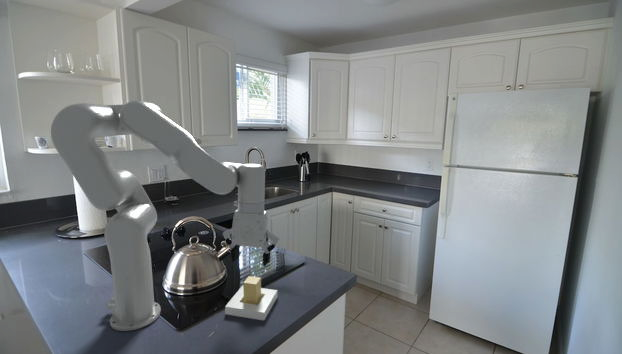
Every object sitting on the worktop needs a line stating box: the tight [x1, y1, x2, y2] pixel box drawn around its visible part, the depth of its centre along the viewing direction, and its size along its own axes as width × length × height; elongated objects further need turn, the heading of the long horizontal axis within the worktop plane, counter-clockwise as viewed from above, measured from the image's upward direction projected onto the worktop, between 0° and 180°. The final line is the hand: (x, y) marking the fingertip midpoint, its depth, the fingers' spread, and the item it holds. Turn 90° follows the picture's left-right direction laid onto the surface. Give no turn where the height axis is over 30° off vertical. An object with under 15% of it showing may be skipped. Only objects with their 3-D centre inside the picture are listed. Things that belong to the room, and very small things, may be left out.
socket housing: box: [224, 284, 278, 321], centre depth 94 cm, size 12×12×2 cm
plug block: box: [242, 275, 262, 305], centre depth 93 cm, size 4×4×8 cm
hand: (250, 262), depth 91 cm, fingers open, 9 cm apart
